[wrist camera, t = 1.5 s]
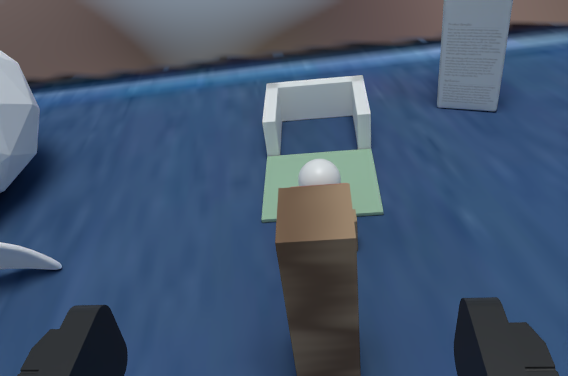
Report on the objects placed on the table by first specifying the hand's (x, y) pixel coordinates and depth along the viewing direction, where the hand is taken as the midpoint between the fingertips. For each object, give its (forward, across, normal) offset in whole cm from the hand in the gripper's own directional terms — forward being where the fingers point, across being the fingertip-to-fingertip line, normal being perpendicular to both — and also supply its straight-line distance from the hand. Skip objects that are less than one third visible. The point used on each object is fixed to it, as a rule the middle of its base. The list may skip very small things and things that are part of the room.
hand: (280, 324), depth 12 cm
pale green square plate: (+30, 0, +18) cm, 35 cm away
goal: (+39, 0, +17) cm, 43 cm away
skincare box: (+43, -16, +17) cm, 49 cm away
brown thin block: (+17, 0, +18) cm, 25 cm away
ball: (+28, 0, +16) cm, 32 cm away
